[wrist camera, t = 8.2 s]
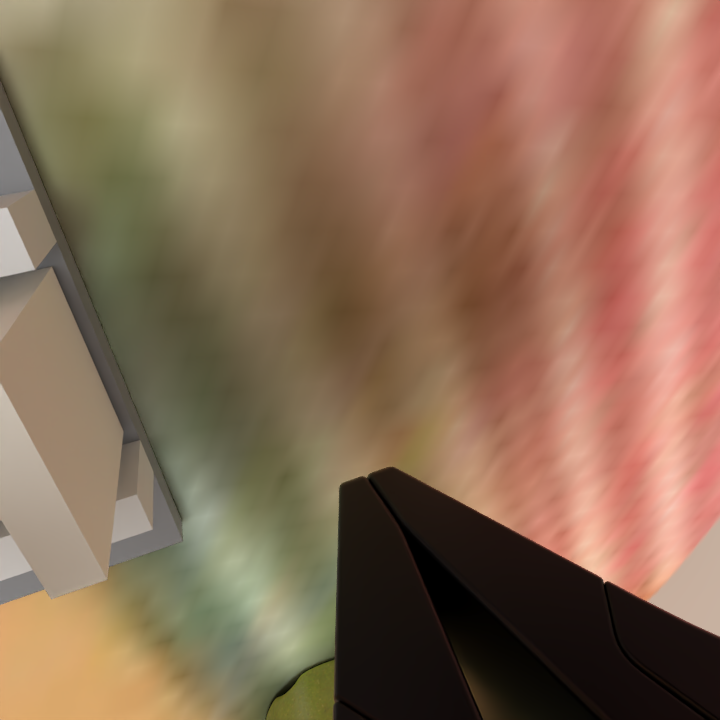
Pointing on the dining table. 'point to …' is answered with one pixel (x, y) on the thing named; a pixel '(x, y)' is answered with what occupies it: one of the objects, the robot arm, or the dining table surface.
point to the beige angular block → (54, 438)
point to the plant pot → (307, 696)
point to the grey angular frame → (50, 249)
